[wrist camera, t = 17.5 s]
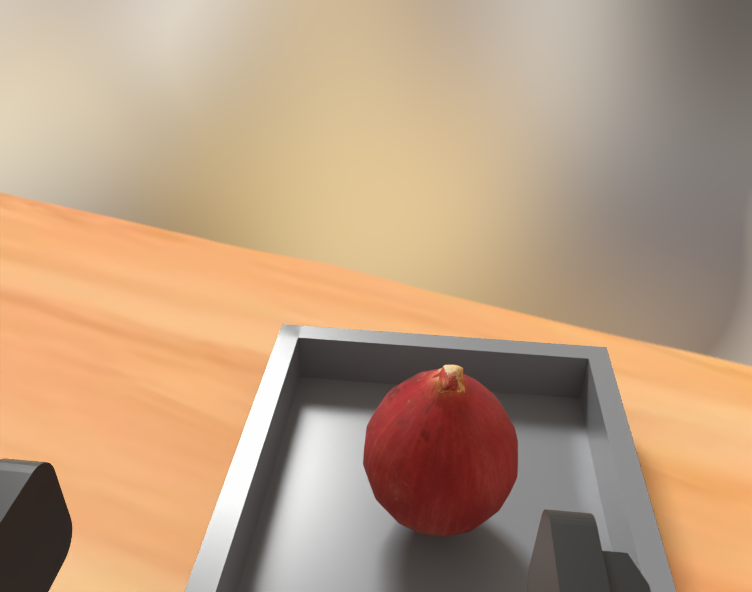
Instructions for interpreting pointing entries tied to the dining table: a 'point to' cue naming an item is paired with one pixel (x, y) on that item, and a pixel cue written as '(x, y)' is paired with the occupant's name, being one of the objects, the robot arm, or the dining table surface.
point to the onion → (441, 453)
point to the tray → (355, 496)
